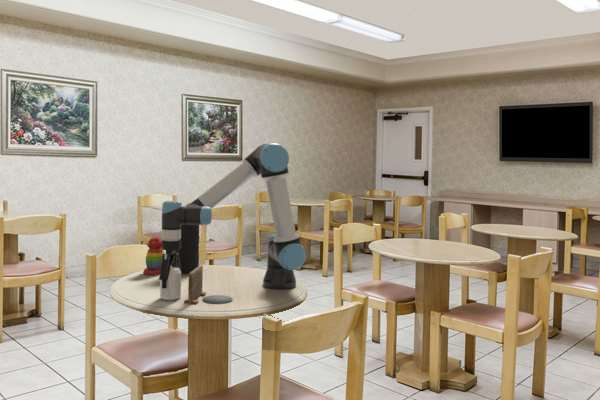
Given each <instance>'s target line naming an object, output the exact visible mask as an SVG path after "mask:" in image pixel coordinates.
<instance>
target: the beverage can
mask: <svg viewBox="0 0 600 400" xmlns="http://www.w3.org/2000/svg"><path fill="white" fill-rule="evenodd" d="M168 280H169V296H161V280H159V282H160V283H159V287H160V288H159V289H160V290H159V298H160V299H162V300H164V301H175V300H179V299H180V298H181V296H182V295H181V294H182V274H181V271H180V268H176V267H172V266H171V268H170V272H169V277H168Z"/></svg>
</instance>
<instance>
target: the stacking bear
mask: <svg viewBox="0 0 600 400" xmlns="http://www.w3.org/2000/svg"><path fill="white" fill-rule="evenodd" d="M162 240H163V239H162V238H160V237H157V236H154V237H151V238H150V239H149V240H148V241H147V243H146V247H148V249H147V252H146V257H145V265H146V268H144V269H143V272H144V273H143V275H144V276H160V271H161V265H162V258H163V254H166V252H165V250H162V248H161V243H162Z"/></svg>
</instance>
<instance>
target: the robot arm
mask: <svg viewBox="0 0 600 400" xmlns="http://www.w3.org/2000/svg"><path fill="white" fill-rule="evenodd" d="M289 163H290V155H289V152H288V149H286V148H285V147H284V146H283V145H282V144H279V143H275V142H270V143H264V144H261V145H259V146H257V147H256V148H255V149H254V150H253V151H252V152H251V153H250V154H248V155H247V156H246V157H244V158H243V159H242V163H241V164H240V165H238V166H237V167H236V168H234V169H233V170H232V171H230V172H229V173H228V174H227V175H225V176H224V177H223V178H222V179H220V180H219V181H217V182H216V183H215V184H214V185H212V186H211V187H210V188H209V189H207V190H206V191H204V192H203V193H202V194H201V195H200V196H198V197H197V198H196V199H193V201H191V202H190V203H187V204H186V205H182V201H180V200H166V201H165V200H164V202H163V203H162V208H161V230H160V233H161V240H162V243H161V249H162V250H163V251H165V254H163V258H162V265H161V271H160V275H159V277H158V280H159V281H160V280H161V296H169V280H168V277H169V272H170V268H171V267H176V268H180V269H181V266H180V258H179V249H180V248H181V241H180V240H179V239H181V225H199V226H205V225H210V224H212V219H213V217H212V216H213V213H212V209H215V207H217V205H219V204H220V203H221V202H223V201H224V200H225V199H227V198H228V197H229V196H230V195H232V194H233V193H234V192H236V191H237V190H238V189H240V188H241V187H242V186H243V185H245V184H246V183H247V182H249V181H250V180H251V179H253V178H255V177H256V178H258V177H259V176H261V179H263V180H264V181H265V183H266V189H267V194H268V195H267V196H268V200H269V206H270V210H271V211H270V212H271V217H272V220H273V221H272V223H273V227H274V232H275V235H269V236H268V238H267V257H266V258H267V260H266V262H267V264H266V265H267V267H266V271H265V274H264V276H263V278H262V279H263V280H262V285H263V287H265V288H269V289H275V290H278V289H279V290H284V289H286V290H287V289H292V288H295V287H297V280H296V276H295V273H294V271H296V270H297V269H299V268H301V267H302V266H303V265H304V263H305V261H306V259H307V252H306V249H305V248H304V246H303V245H302V241H301V235H300V234H298V232H296V228H295V227H296V226H295V222H294V216H293V210H292V204H291V199H290V194H289V188H288V182H287V177H288V175H289V174H290V173H289V168H288V165H289ZM180 271H181V270H180Z"/></svg>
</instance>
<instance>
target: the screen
mask: <svg viewBox="0 0 600 400" xmlns="http://www.w3.org/2000/svg"><path fill="white" fill-rule="evenodd" d="M203 268H204V266H203V265H199V266H198V267H197V268H195V269H194V270H193V271H191V272H190V273H189V274H188V293H187V294H188V298H187V299H186V298H185V299H184V300H183V304H188V305H198V304H199V298H200V297H201V296H202V297H206V295H207V291H203V279H204V278H203V277H204V276H203V274H204V273H203V270H204V269H203Z"/></svg>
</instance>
